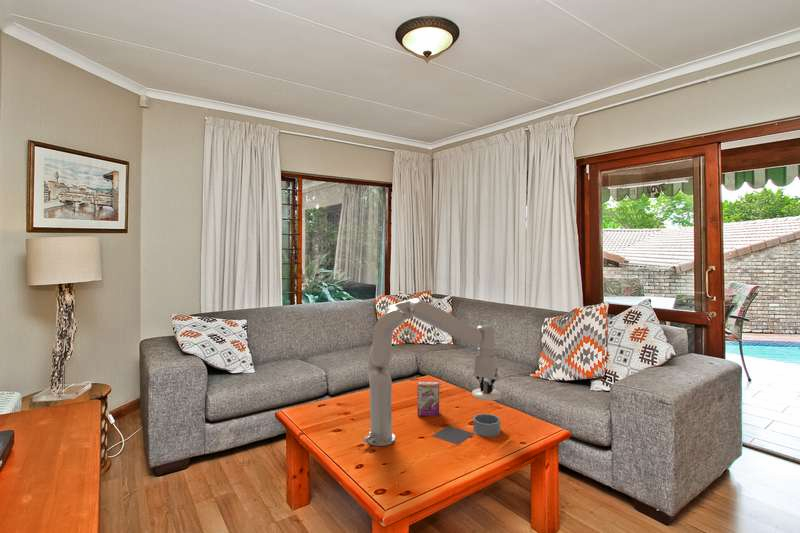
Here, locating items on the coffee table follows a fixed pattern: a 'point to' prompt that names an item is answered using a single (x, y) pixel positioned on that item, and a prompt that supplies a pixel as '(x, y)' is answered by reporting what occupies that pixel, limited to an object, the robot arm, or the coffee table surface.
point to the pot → (486, 425)
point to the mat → (453, 435)
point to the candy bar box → (428, 398)
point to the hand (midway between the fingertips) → (486, 391)
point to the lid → (486, 393)
